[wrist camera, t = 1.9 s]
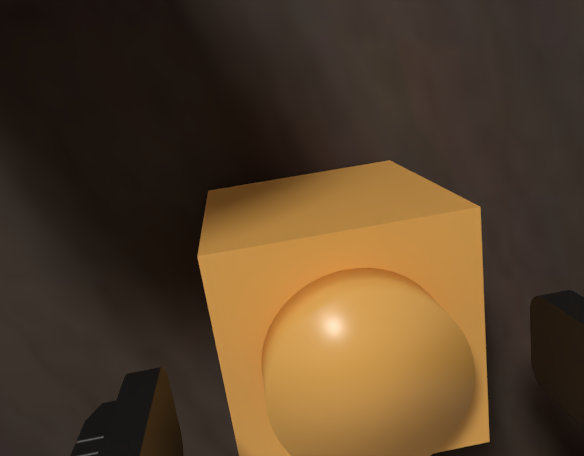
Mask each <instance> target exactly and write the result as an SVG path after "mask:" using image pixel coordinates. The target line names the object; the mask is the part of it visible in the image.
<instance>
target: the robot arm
mask: <svg viewBox="0 0 584 456" xmlns="http://www.w3.org/2000/svg"><path fill="white" fill-rule="evenodd" d="M530 325H531V362H532V368H533V371H534V374H535V377H536V379H537V381H538V383H539V384H540V386H541V387H542V389H543V390H544V391H545V392H546V393H547V394H548V395H549V396H551V397H552V398H553V399H554V400H555V401H556V402H557V403H558V404H559V405H560V406H561V407H562V408H563V409H564V410H565V411H566V412H567V413H568V414H569V415H570V416H571V417H572V418H573V419H574V420H576V421H577V422H578V423H579V424H580V425H581V426H582V427H583V428H584V297H582V296H581V295H579V294H577V293H575V292H574V291H571V290H566V291H561V292H556V293H551V294H546V295H540V296H536V297H534V298H533V299H532V301H531V305H530ZM71 456H183V444H182V436H181V431H180V426H179V422H178V418H177V414H176V410H175V406H174V402H173V397H172V393H171V389H170V385H169V381H168V377H167V374H166V371H165V369H164V368H163V367H160V368H155V369H150V370H144V371H139V372H134V373H129V374H126V376H125V378H124V381H123V383H122V386H121V389H120V392H119V395H118V398H117V400H116V401H112V402H107V403H102V404H101V405H100V406H99V407H98V408H97V409H96V411H95V412H94V413H93V414H92V415H91V416H90V417H89V418H88V419H87V420H86V421H85V423H84V425H83V427H82V430H81V432H80V435H79V437H78V439H77V444H75V446H74V449H73V451H72V453H71Z"/></svg>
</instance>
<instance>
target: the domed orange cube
mask: <svg viewBox="0 0 584 456" xmlns="http://www.w3.org/2000/svg"><path fill="white" fill-rule="evenodd" d="M197 257H198V262H199V267H200V272H201V276H202V281H203V286H204V291H205V295H206V300H207V305H208V310H209V314H210V319H211V324H212V329H213V333H214V338H215V343H216V348H217V352H218V357H219V362H220V367H221V371H222V376H223V381H224V386H225V390H226V395H227V400H228V405H229V409H230V414H231V419H232V424H233V428H234V433H235V438H236V443H237V447H238V452H239V456H430V455H432V454H433V453H438V452H443V451H448V450H453V449H457V448H462V447H467V446H472V445H476V444H481V443H486V442H490V440H489V415H488V389H487V363H486V338H485V312H484V286H483V261H482V235H481V209H480V206H478V205H476V204H474V203H472V202H470V201H468V200H466V199H464V198H462V197H460V196H458V195H456V194H454V193H452V192H450V191H449V190H447V189H445V188H443V187H441V186H439V185H437V184H435V183H433V182H431V181H429V180H427V179H425V178H423V177H421V176H419V175H417V174H415V173H413V172H411V171H409V170H408V169H406V168H404V167H402V166H400V165H398V164H396V163H394V162H392V161H390V160H389V161H383V162H377V163H371V164H365V165H359V166H353V167H347V168H341V169H335V170H329V171H323V172H317V173H311V174H305V175H299V176H293V177H287V178H281V179H275V180H269V181H263V182H257V183H251V184H245V185H239V186H233V187H227V188H221V189H215V190H209V191H208V195H207V201H206V207H205V213H204V219H203V225H202V231H201V237H200V243H199V249H198V256H197Z"/></svg>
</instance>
